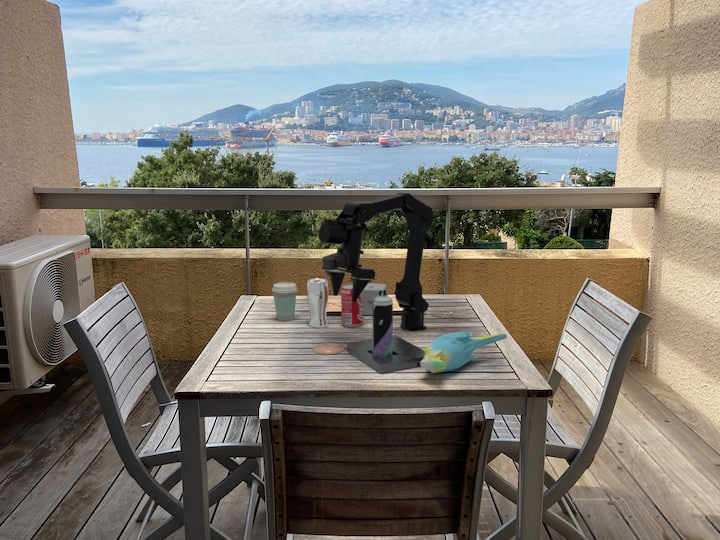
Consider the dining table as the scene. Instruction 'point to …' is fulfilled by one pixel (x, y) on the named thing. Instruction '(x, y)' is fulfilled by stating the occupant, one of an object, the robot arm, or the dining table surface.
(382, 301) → the spray can
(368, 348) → the square hole plate
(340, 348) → the terracotta coaster
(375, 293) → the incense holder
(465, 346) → the decorative bird
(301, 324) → the dining table surface
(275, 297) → the coffee cup
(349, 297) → the soda can
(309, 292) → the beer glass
